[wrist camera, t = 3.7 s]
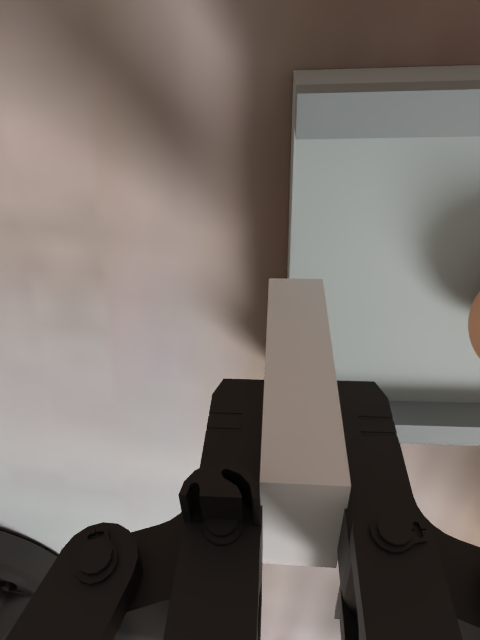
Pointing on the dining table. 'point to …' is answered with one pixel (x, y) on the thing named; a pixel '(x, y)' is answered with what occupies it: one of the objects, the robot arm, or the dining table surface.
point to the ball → (475, 325)
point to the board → (394, 234)
